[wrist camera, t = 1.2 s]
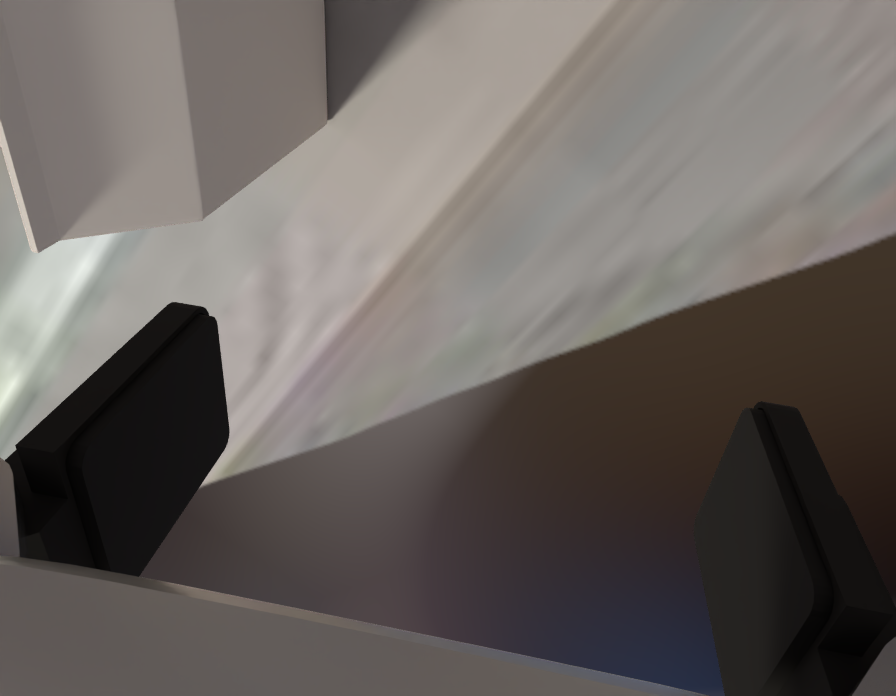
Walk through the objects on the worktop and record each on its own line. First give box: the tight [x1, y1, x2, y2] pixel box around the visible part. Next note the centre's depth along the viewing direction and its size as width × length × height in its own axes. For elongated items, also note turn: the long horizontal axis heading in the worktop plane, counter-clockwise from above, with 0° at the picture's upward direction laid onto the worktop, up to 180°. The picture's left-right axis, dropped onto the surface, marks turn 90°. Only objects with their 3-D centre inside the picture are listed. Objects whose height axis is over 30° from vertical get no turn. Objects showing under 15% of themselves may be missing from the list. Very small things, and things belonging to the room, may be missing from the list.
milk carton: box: [0, 0, 327, 253], centre depth 26 cm, size 7×7×19 cm
